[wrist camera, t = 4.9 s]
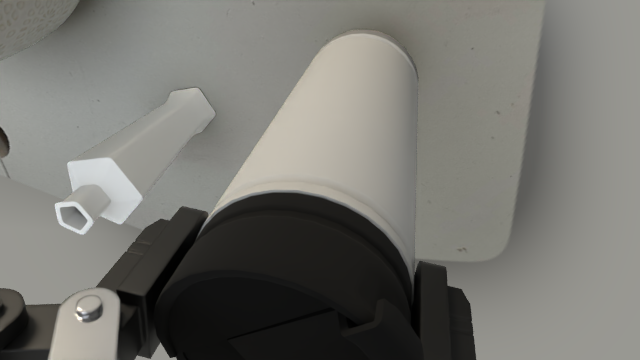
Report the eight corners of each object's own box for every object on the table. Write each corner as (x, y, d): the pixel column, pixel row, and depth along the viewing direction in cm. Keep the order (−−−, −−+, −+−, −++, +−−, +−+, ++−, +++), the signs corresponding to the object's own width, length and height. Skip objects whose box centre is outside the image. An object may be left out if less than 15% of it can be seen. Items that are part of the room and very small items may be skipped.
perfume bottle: (220, 140, 38) (120, 259, 26) (169, 131, 39) (47, 243, 26) (219, 87, 36) (109, 189, 23) (165, 78, 36) (28, 173, 24)
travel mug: (443, 100, 27) (479, 448, 10) (345, 149, 29) (243, 485, 13) (389, 1, 25) (320, 231, 8) (289, 64, 27) (76, 333, 10)
